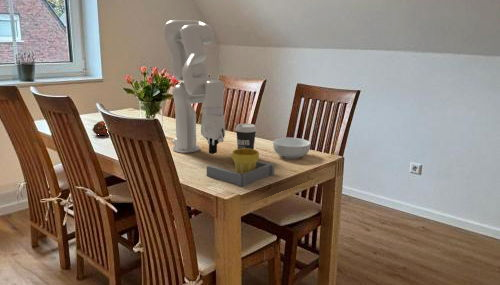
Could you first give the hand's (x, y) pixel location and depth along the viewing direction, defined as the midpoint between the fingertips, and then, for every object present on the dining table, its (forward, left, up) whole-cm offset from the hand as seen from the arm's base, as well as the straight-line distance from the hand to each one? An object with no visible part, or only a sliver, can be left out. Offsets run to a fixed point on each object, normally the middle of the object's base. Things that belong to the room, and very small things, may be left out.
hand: (212, 152), depth 185 cm
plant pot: (+18, -1, -6) cm, 19 cm away
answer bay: (+16, -2, -6) cm, 17 cm away
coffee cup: (+3, +18, -6) cm, 19 cm away
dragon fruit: (-82, 0, -6) cm, 82 cm away
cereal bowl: (+17, +34, -6) cm, 39 cm away
